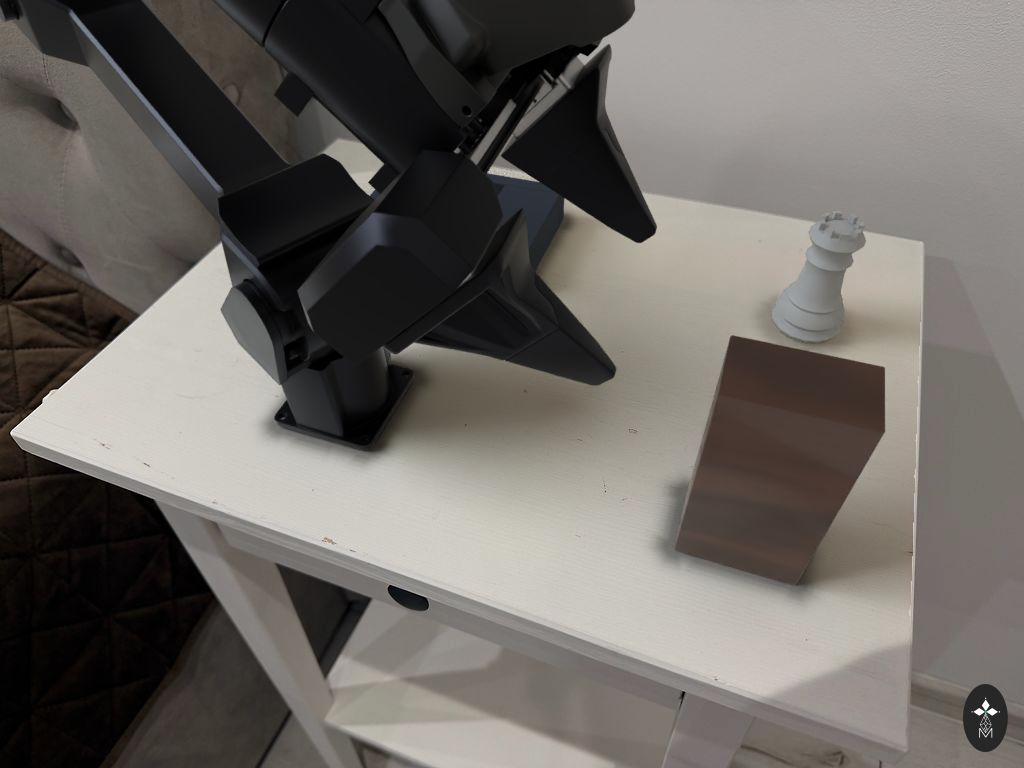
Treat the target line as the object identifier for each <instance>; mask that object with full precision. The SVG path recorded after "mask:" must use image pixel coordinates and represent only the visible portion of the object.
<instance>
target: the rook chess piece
mask: <svg viewBox="0 0 1024 768" xmlns="http://www.w3.org/2000/svg"><path fill="white" fill-rule="evenodd" d="M843 213H844V211H843V210H834V211H833V213H832V215H831V213H829V212H828V211H826V212H824V213H822V214H821V215H820V218H819V219H818V222H816V223H814V224H813V225H810V228H809V229H808V230H807V232H808V236H809V240H810V241H811V243H812V244H811V245H810V246H808V247H806V250H805V252H804V254H805V258H806V259H805V262H804V266H803V267H802V268H801V271H800V272H799V275H798V276H797V278H796V279H795V280H794V281H793V282H791V283H789V285H788V287H786V288H784V289H783V290H782V291H781V292H780V293H779V295H778V297H777V299H776V301H775V304H774V306H773V307H772V310H771V317H772V321H773V323H774V325H775V326H776V327H777V329H778V330H779V332H780V333H782V334H783V335H785V336H786V337H787V338H789V339H791V340H794V341H797V342H800V343H805V344H807V343H808V344H816V343H821V342H825V341H828V340H830V339H832V338H834V336H836V335H838V334H839V333H840V331H841V328H842V322H843V320H844V318H845V316H846V310H845V309H846V308H845V306H844V297H843V294H842V288H843V284H844V278H845V274H846V272H847V269H849V268H851V267H852V266H853V264H854V261H855V260H854V257H853V254H854V253H856V252H858V251H860V250H862V249H863V248H864V247H865V245H866V243H867V240H866V237H865V233H864V229H865V228H866V225H865V222H864V221H858V219H859V216H858V215H855V214H854V213H850V214H849V215H848V218H844V217H843Z"/></svg>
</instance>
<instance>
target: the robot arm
mask: <svg viewBox="0 0 1024 768" xmlns="http://www.w3.org/2000/svg"><path fill="white" fill-rule="evenodd" d="M211 1H213V3H214V4H215V5H216V6H217V7H218V8H219V9H220V10H221V11H223V12H224V13H225V14H226V15H227V16H228V17H229V18H230V19H231V20H232V21H233V22H234V23H235V24H236V25H237V26H239V27H240V29H242V30H243V31H244V33H246V34H247V35H248V36H249V37H250V38H251V39H252V40H253V41H254V42H255V43H256V44H257V45H258V46H259V47H261V48H262V49H263V50H264V51H265V53H266V54H268V55H269V57H270V58H272V59H273V60H274V61H275V62H276V63H277V64H278V66H280V67H281V68H282V69H283V70H284V71H285V72H286V73H287V74H286V75H285V77H284V78H283V80H282V81H281V83H280V84H279V85H278V87H277V89H276V90H275V92H274V93H273V96H274V97H275V98H276V99H277V100H278V101H279V102H280V103H282V105H283V106H285V108H287V109H288V110H289V111H290V112H291V113H292V114H293V115H294V116H295V117H296V118H299V117H300V116H301V115H302V114H303V113H304V112H305V111H307V110H308V109H309V108H310V107H311V106H313V104H314V103H316V102H318V103H319V104H320V105H321V106H322V107H323V108H325V110H326V111H327V112H329V113H330V115H332V116H333V118H335V119H336V120H337V121H338V122H339V123H340V124H341V125H342V126H343V127H345V128H346V129H347V131H348V132H350V133H351V134H352V136H354V137H355V139H357V140H358V141H359V142H360V143H361V144H362V145H364V147H366V149H368V151H370V152H371V154H373V156H375V157H376V158H377V159H378V160H379V161H380V162H381V163H382V164H381V166H380V167H379V168H378V170H377V171H376V172H375V173H374V175H373V176H372V177H371V178H370V179H369V181H368V182H367V183H368V184H369V186H371V187H372V188H373V189H374V190H376V191H377V192H378V193H380V195H379V196H378V197H377V198H376V199H374V198H373V197H371V196H370V194H368V193H367V192H366V191H365V190H364V189H363V188H361V187H360V185H358V183H357V181H356V180H355V179H354V178H353V177H352V176H351V174H350V173H349V172H348V170H347V169H346V168H345V166H344V165H343V164H342V163H341V162H340V161H339V160H338V159H335V158H334V157H332V156H330V155H329V154H327V153H324V152H323V153H320V154H317V155H315V156H312V157H310V158H308V159H305V160H302V161H300V162H298V163H295V164H291V163H289V162H288V161H287V160H286V159H285V158H284V157H283V156H282V155H281V154H280V153H279V151H278V150H277V149H276V148H275V147H274V145H272V143H271V142H270V141H269V140H268V139H267V138H266V136H265V135H264V134H263V133H262V132H261V131H260V130H259V129H258V128H257V127H256V126H255V124H254V123H253V122H252V121H251V120H250V119H249V118H248V116H247V115H246V114H245V113H244V112H243V111H242V110H241V109H240V107H239V106H238V105H237V104H236V103H235V102H234V101H233V99H232V98H231V97H230V96H229V95H228V94H227V93H226V91H225V90H224V89H223V88H222V87H221V86H220V84H219V83H217V81H216V80H215V79H214V78H213V76H211V74H210V73H209V72H208V71H207V70H206V68H204V66H203V65H202V64H201V63H200V62H199V61H198V60H197V59H196V58H195V56H194V55H193V54H192V53H191V52H190V51H189V50H188V48H187V47H186V46H185V45H184V44H183V43H182V42H181V41H180V39H178V37H177V36H176V35H175V34H174V33H173V32H172V30H171V29H170V28H169V27H168V26H167V25H166V24H165V23H164V21H163V20H162V19H161V18H160V16H158V14H156V12H155V11H154V7H153V4H152V0H0V20H1V21H3V22H4V23H7V22H10V21H13V23H14V24H15V26H16V27H17V28H18V29H19V31H20V32H21V33H22V34H23V35H24V36H25V37H26V38H27V39H28V41H30V43H32V45H33V46H35V48H36V49H37V50H38V51H39V52H40V53H41V54H43V55H45V56H48V57H52V58H54V59H58V60H62V61H65V62H68V63H73V64H75V65H79V66H83V67H87V68H89V69H90V70H91V71H92V72H93V73H94V74H95V76H96V77H97V78H98V79H99V80H100V81H101V83H102V84H103V85H104V86H105V88H106V89H107V90H108V91H109V93H110V94H111V95H112V96H113V98H114V99H115V100H116V101H117V102H118V103H119V105H120V106H121V108H123V110H124V111H125V112H126V113H127V115H129V117H130V118H131V120H132V121H134V123H135V124H136V126H137V127H138V128H139V129H140V130H141V131H142V133H143V134H144V135H145V136H146V137H147V139H148V140H149V141H150V142H151V144H152V145H153V146H154V147H155V148H156V150H157V151H158V152H159V153H160V154H161V156H162V157H163V158H164V160H166V162H167V163H168V165H169V166H170V167H171V168H172V169H173V170H174V171H175V173H176V174H177V175H178V176H179V178H180V179H181V180H182V181H183V182H184V184H185V185H186V186H187V188H188V189H189V190H190V191H191V192H192V193H193V195H194V196H195V197H196V198H197V199H198V201H199V202H200V203H201V204H202V205H203V207H204V208H205V209H206V211H207V212H208V213H209V214H210V215H211V217H213V219H214V221H216V222H217V224H218V225H219V238H220V242H221V245H222V250H223V255H224V258H225V262H226V267H227V270H228V275H229V278H230V282H231V286H232V287H230V289H229V291H228V293H227V295H226V297H225V299H224V301H223V303H222V305H221V307H220V312H221V315H222V316H223V318H224V320H225V322H226V324H227V326H228V327H229V329H230V332H231V333H232V335H233V337H234V338H235V340H236V342H237V344H238V345H239V346H240V347H241V348H242V349H243V350H244V351H245V352H246V353H247V354H248V355H249V356H250V357H251V358H252V359H253V360H254V362H255V363H257V364H258V365H259V366H260V367H261V368H262V370H263V371H265V373H266V374H268V375H269V376H270V377H271V379H272V380H273V381H274V382H275V383H276V384H277V385H279V386H281V388H282V391H283V393H284V396H285V398H286V400H284V402H283V404H282V405H281V406H280V407H279V409H278V410H277V411H276V413H275V414H274V421H275V424H276V425H277V426H278V427H280V428H284V429H288V430H291V431H294V432H298V433H301V434H304V435H308V436H312V437H315V438H318V439H322V440H326V441H328V442H333V443H336V444H339V445H343V446H347V447H350V448H353V449H357V450H360V451H368V450H370V449H371V448H372V447H373V446H374V445H375V443H376V442H377V440H378V438H379V436H380V435H381V433H382V432H383V431H384V428H385V427H386V425H387V424H388V422H389V421H390V419H391V417H392V416H393V414H394V413H395V411H396V409H397V407H398V406H399V404H400V403H401V401H402V400H403V398H404V396H406V393H407V392H408V390H409V389H410V387H411V385H412V384H413V382H414V380H415V375H414V371H413V370H412V369H411V368H408V367H404V366H400V365H396V364H392V362H391V360H392V355H395V356H396V355H399V354H400V353H402V352H404V350H406V349H407V348H409V347H410V346H411V345H413V344H418V345H425V346H430V347H435V348H441V349H447V350H451V351H457V352H463V353H468V354H469V353H470V354H473V355H480V356H484V357H488V358H492V359H495V360H498V361H502V362H503V361H504V362H506V363H510V364H513V365H517V366H521V367H523V368H528V369H531V370H535V371H539V372H543V373H545V374H549V375H552V376H555V377H559V378H563V379H566V380H571V381H573V382H577V383H581V384H584V385H587V386H591V387H598V386H600V385H603V384H605V383H607V382H609V381H611V380H613V379H614V378H615V377H616V373H617V366H616V364H614V362H613V360H612V359H611V357H609V355H608V354H607V352H606V351H605V350H604V348H603V347H602V346H601V344H600V342H598V340H597V339H596V338H595V337H594V336H593V335H592V333H590V331H589V330H588V329H587V328H586V327H585V326H584V324H583V323H582V322H581V321H580V320H579V319H578V318H577V317H576V316H575V314H574V313H573V312H572V311H571V310H570V309H569V308H568V307H567V306H566V304H565V303H564V302H563V301H562V300H561V299H560V297H559V296H558V295H556V293H555V292H554V291H553V290H552V288H550V286H549V285H548V284H547V283H546V282H545V280H544V279H543V278H541V276H540V275H539V274H538V273H537V272H536V271H534V269H533V268H532V266H531V264H530V261H529V249H528V234H527V219H526V212H525V210H524V209H523V208H521V209H520V210H518V211H517V212H516V213H515V214H513V215H512V216H511V217H510V218H509V219H507V220H506V221H505V222H504V223H502V224H501V225H500V226H499V227H498V225H499V223H500V221H501V220H502V218H503V216H504V214H503V211H502V208H501V205H500V202H499V199H498V196H497V193H496V190H495V187H494V184H493V181H492V180H491V179H490V178H489V177H488V176H487V175H486V174H487V173H489V171H490V169H491V168H492V166H493V165H494V163H495V162H496V160H497V158H499V155H500V157H501V158H502V159H503V160H505V161H506V162H507V163H509V164H511V165H512V166H514V167H516V168H517V169H519V170H520V171H521V172H523V173H525V174H526V175H528V176H529V177H530V178H532V179H533V180H534V181H537V182H540V183H542V184H543V185H545V186H546V187H548V188H549V189H551V190H552V191H554V192H555V193H557V194H559V195H560V196H562V197H563V198H564V200H566V201H568V202H569V203H571V204H573V205H574V206H575V207H577V208H579V209H580V210H582V211H583V212H584V213H586V214H587V215H589V216H591V217H592V218H594V219H595V220H597V221H598V222H600V223H601V224H603V225H604V226H606V227H607V228H609V229H611V230H612V231H614V232H616V233H618V234H619V235H621V236H623V237H625V238H627V239H629V240H630V241H632V242H634V243H636V244H643V243H644V242H646V241H647V240H649V239H650V238H652V237H654V236H655V235H656V233H657V229H658V224H657V223H656V220H655V218H654V216H653V214H652V212H651V210H650V207H649V205H648V203H647V201H646V199H645V197H644V194H643V193H642V190H641V187H640V186H639V183H638V181H637V179H636V177H635V175H634V173H633V170H632V168H631V166H630V164H629V161H628V160H627V157H626V155H625V153H624V151H623V148H622V147H621V144H620V141H619V140H618V139H619V138H618V137H617V134H616V133H615V129H614V128H613V125H612V123H611V120H610V118H609V115H608V112H607V108H606V97H607V88H608V87H607V86H608V77H609V71H610V65H611V64H610V63H611V61H612V58H613V57H612V56H613V54H612V53H613V50H612V46H611V44H610V43H608V44H606V45H604V47H603V48H601V49H600V50H599V51H598V52H597V53H595V55H594V56H593V57H592V58H591V59H589V60H588V61H587V62H586V63H585V64H584V63H583V62H582V60H581V59H580V58H579V57H578V56H579V55H580V54H581V55H583V56H586V57H589V56H590V55H591V54H592V53H593V52H594V51H595V50H596V49H598V48H599V46H600V44H601V42H602V41H603V39H604V38H606V37H608V36H610V35H611V34H613V33H615V32H617V31H618V30H619V29H621V28H622V27H624V26H625V25H626V24H627V23H628V22H630V20H631V19H632V17H633V16H634V14H635V11H636V3H635V0H211ZM510 138H511V139H510ZM509 139H510V140H509ZM506 144H507V145H506ZM504 147H505V148H504ZM500 153H501V154H500ZM391 354H392V355H391Z"/></svg>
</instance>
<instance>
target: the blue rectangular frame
mask: <svg viewBox="0 0 1024 768" xmlns="http://www.w3.org/2000/svg"><path fill="white" fill-rule="evenodd" d="M486 175H487V176H488V177H489V178H490V179H491V180H492V181H493V184H494V187H495V190H496V193H497V196H498V199H499V202H500V205H501V208H502V211H503V214H504V216H503V218H502V220H501V221H500V223H499V225H498V227H499V226H500V225H501V224H502V223H504V222H505V221H506V220H507V219H509V218H510V217H511V216H512V215H513V214H515V213H516V212H517V211H518V210H520V209H521V208H523V209H524V210H525V212H526V219H527V234H528V249H529V261H530V264H531V266H532V268H533V269H534V271H535V272H536V271H537V269H538V267H539V265H540V263H541V262H542V260H543V258H544V257H545V254H546V252H547V250H548V248H549V247H550V245H551V243H552V241H553V240H554V237H555V236H556V234H557V233H558V230H559V228H560V226H561V225H562V223H563V221H564V219H565V198H563V197H562V196H560V195H559V194H557V193H555V192H554V191H552V190H551V189H549V188H548V187H546V186H545V185H543V184H542V183H540V182H539V181H537V180H531V179H524V178H518V177H512V176H505V175H502V174H501V175H499V174H493V173H489V172H488V173H487V174H486ZM379 195H380V193H378V192H377V191H376V190H375V189H374V190H373V191H372V192H371V194H369V196H371V197H373V198H374V199H376V198H377V197H378V196H379Z"/></svg>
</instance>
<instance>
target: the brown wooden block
mask: <svg viewBox="0 0 1024 768" xmlns="http://www.w3.org/2000/svg"><path fill="white" fill-rule="evenodd" d="M708 412H709V413H708V416H707V419H706V422H705V426H704V430H703V433H702V436H701V440H700V444H699V448H698V452H697V454H696V459H695V462H694V466H693V468H692V469H693V470H692V473H691V477H690V480H689V484H688V487H687V491H686V494H685V499H684V503H683V508H682V511H681V516H680V520H679V525H678V529H677V534H676V539H675V543H674V547H673V549H674V551H676V552H679V553H682V554H686V555H689V556H693V557H696V558H699V559H704V560H707V561H710V562H713V563H717V564H720V565H723V566H727V567H731V568H733V569H737V570H741V571H745V572H747V573H751V574H755V575H758V576H761V577H765V578H768V579H771V580H775V581H778V582H782V583H786V584H789V585H792V586H797V584H798V583H799V582H800V579H801V577H802V576H803V574H804V572H805V570H806V569H807V568H808V565H809V563H810V562H811V561H812V558H813V557H814V555H815V554H816V551H817V550H818V548H819V546H820V544H821V543H822V542H823V540H824V538H825V537H826V534H827V533H828V531H829V529H830V527H831V526H832V524H833V522H834V521H835V519H836V517H837V516H838V513H840V510H841V508H843V505H844V504H845V502H846V500H847V498H848V496H850V493H851V491H852V490H853V488H854V486H855V485H856V483H857V481H858V479H859V478H860V476H861V474H862V473H863V470H864V469H865V467H866V466H867V464H868V462H869V461H870V459H871V457H872V455H873V454H874V452H875V450H876V448H877V447H878V445H879V443H880V441H881V440H882V438H883V436H884V435H885V433H886V368H885V366H882V365H878V364H872V363H867V362H862V361H858V360H853V359H848V358H844V357H839V356H834V355H831V354H830V355H829V354H825V353H820V352H816V351H810V350H806V349H801V348H796V347H792V346H787V345H783V344H777V343H772V342H767V341H762V340H758V339H753V338H748V337H744V336H738V335H733V334H731V335H730V337H729V339H728V343H727V346H726V351H725V354H724V358H723V362H722V365H721V369H720V371H719V376H718V380H717V383H716V387H715V390H714V394H713V398H712V401H711V404H710V408H709V411H708Z"/></svg>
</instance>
